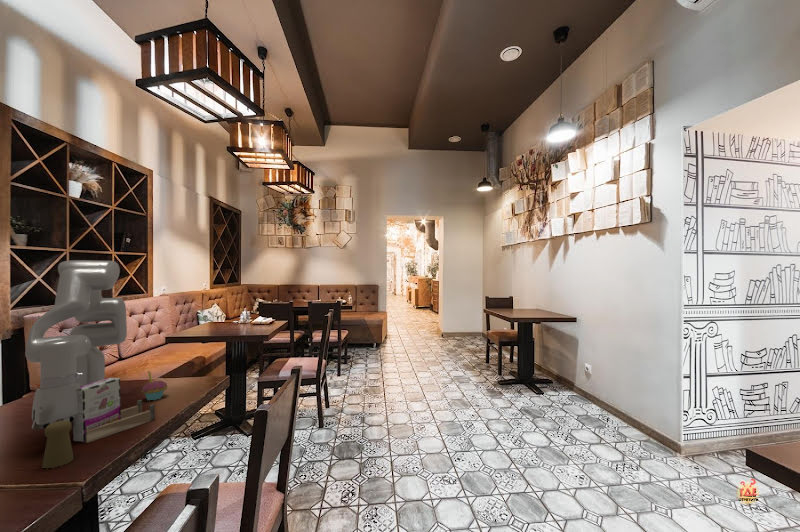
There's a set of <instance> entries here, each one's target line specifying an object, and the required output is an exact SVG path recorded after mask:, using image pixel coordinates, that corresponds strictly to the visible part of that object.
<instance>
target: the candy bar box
mask: <svg viewBox="0 0 800 532" xmlns="http://www.w3.org/2000/svg"><path fill="white" fill-rule="evenodd" d="M121 408H122V407H121V378H119V377H107V378H105V379H104V380H100V381H97V382H94V383H91V384H87V385H84V386H81V387H80V389H79V413H78V414H77V415H75V419H74V420H73V421H72V441H74V442H77V443H78V442H80V443H86V430H90V429H93V428H96V427H99V426H102V425H105V424H108V423H111V422H114V421H118V420H121V410H122V409H121Z"/></svg>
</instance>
